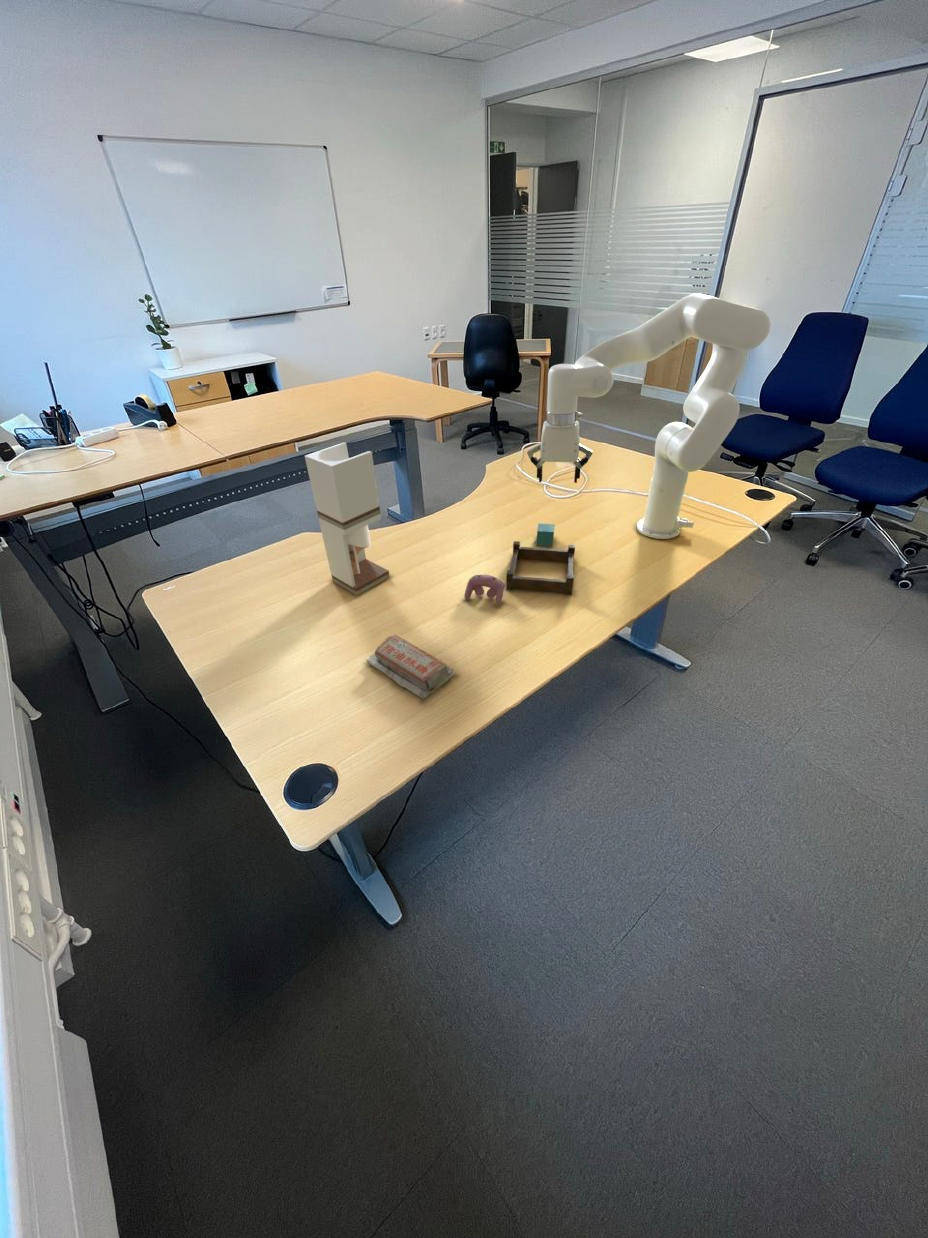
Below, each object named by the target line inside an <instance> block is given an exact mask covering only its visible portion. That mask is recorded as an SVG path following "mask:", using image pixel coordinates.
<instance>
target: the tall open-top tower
mask: <svg viewBox="0 0 928 1238" xmlns="http://www.w3.org/2000/svg"><path fill="white" fill-rule="evenodd" d="M348 451H349V450H348V446H347V442H345V441H344V442H340V443H338V444H335V445H332V446H329V447H326V448H322V449H320V450H317V451H314V452H312V453H309V454H305V455H304V459H305V464H306V468H307V473H308V478H309V482H310V486H311V491H312V496H313V500H314V504H315V509H316V512H317V517H318V522H319V526H320V531H321V535H322V536H321V537H322V540H323V544H324V549H325V553H326V558H327V561H328V566H329V571H330V575H331V580H332V582H333V583H335V584H337V585H338V586H340V587H341V588H343V589H345V590H347V591H349V592H350V593H352V594H353V595H355V596H358V595H360V594H363V593H364V592H365V591H367V590H369V589H371V588H372V587H375V586H376V585H378V584H380V583H382V582H384V581H385V580H387V579H388V578H390V570H388V569H386V568H385V567H383V566H380V565H379V564H377V563H375V562H373V561H371V560H369V559H367V556H366V555H367V554H366V550H365V549H367V548H372V543H371V536H370V530H369V525H371V524H372V523H375V522H377V521H379V520H381V519H382V515H381V514H382V513H381V506H380V500H379V493H378V486H377V479H376V473H375V472H376V471H375V465H374V458H373V452H372V451H371V450H368V451H365V452H361V453H360V454H357V455H355V456H351V457H349V452H348Z"/></svg>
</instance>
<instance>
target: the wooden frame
mask: <svg viewBox="0 0 928 1238" xmlns="http://www.w3.org/2000/svg"><path fill="white" fill-rule="evenodd" d="M575 552H576V545H575V544H568V547H567V549H562V548H561V549H559V548H546V547H544V548H543V547H531V546H530V547H529V546H521V541H520V540H519V541H516V540H514V541H513V544H512V557H511V562H510V566H509V569H507V570H506V574H505V575H506V577H505V578H506V579H505V580H506V581H505V582H506V583H505V590H508V591H513V590H515V591H525V592H526V591H527V592H540V593H551V594H562V595H563V594H564V595H571V596H572V595H573V588H574V580H575V574H573V569H574V560H575ZM519 560H520V561H521V560H522V561H534V562H535V561H536V562H537V561H538V562H551V563H564V564H565V563H566V564H567V568H566V569H567V571H566V578H565V579H560V578H559V579H558V578H545V577H543V578H542V577H533V576H520V575H519V576H517V575H516V571H517V567H518V563H519V562H518V561H519Z"/></svg>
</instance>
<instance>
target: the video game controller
mask: <svg viewBox="0 0 928 1238" xmlns="http://www.w3.org/2000/svg"><path fill="white" fill-rule="evenodd" d="M485 588H489V589H487V591H486V597H488V598H489V599H494V598H495V605H496V606H497V607H498V606H500V605H501V603H502V601H503V596H504V590H505V588H506V584H505V582H504V581H503V580H501V579H499V578H497V577H496V576H493V575H489V574H474V575H473V576H471V577H470V578H469V579H468V581H467V583H466V587H465V590H464V600H465V601H468V600H469V599H470V597H471V596H472V594H473V592H474V594H475V595H476V596H477V597H481V596H483V595H484V594H485Z"/></svg>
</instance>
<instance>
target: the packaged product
mask: <svg viewBox="0 0 928 1238" xmlns="http://www.w3.org/2000/svg"><path fill="white" fill-rule="evenodd" d="M366 662H367V664H369V665H370V666H371V667H374V668H375V669H377V670H379V671H380V672H381V673H383V674H384V675H386V676H387V677H388V678H390V680H393V681H394V682H395V683H396V684H397V685H398V686H400V687H401V688H405V689H407V690H408V691H410V692H411V693H413V694H414V695H416V696H418V697H419V698H420V699H421V700H425V699H426V698H427V697H429V696H430V695H431V694H432V693H434V692H436V691H437V690H438V689H439V688H440V687H442V686H443V685H445V683H447V682H448V681H449V680H450V679H451V678H452V677H454V676H455V669H454V668H451V666H449V665H448V664H446V663H444V662H442V661H441V660H439V659H438V658H436V657H434V656H433V655H431V654H429V653H427V652H426V651H424V650H422V649H421V648H419V647H418V646H416V645H414V644H412V643H411V642H409V641H407V640H406V639H404V638H402V637H401V636H399V635H397V634H392V635H389V636H387V637H386V638H385V639H384V640H383V642H382V643H381V644H380V645H379V646H377V648H376V649H375V650H374V653H373V654H372V655H370V656H369V657H368V658H367V659H366Z"/></svg>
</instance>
